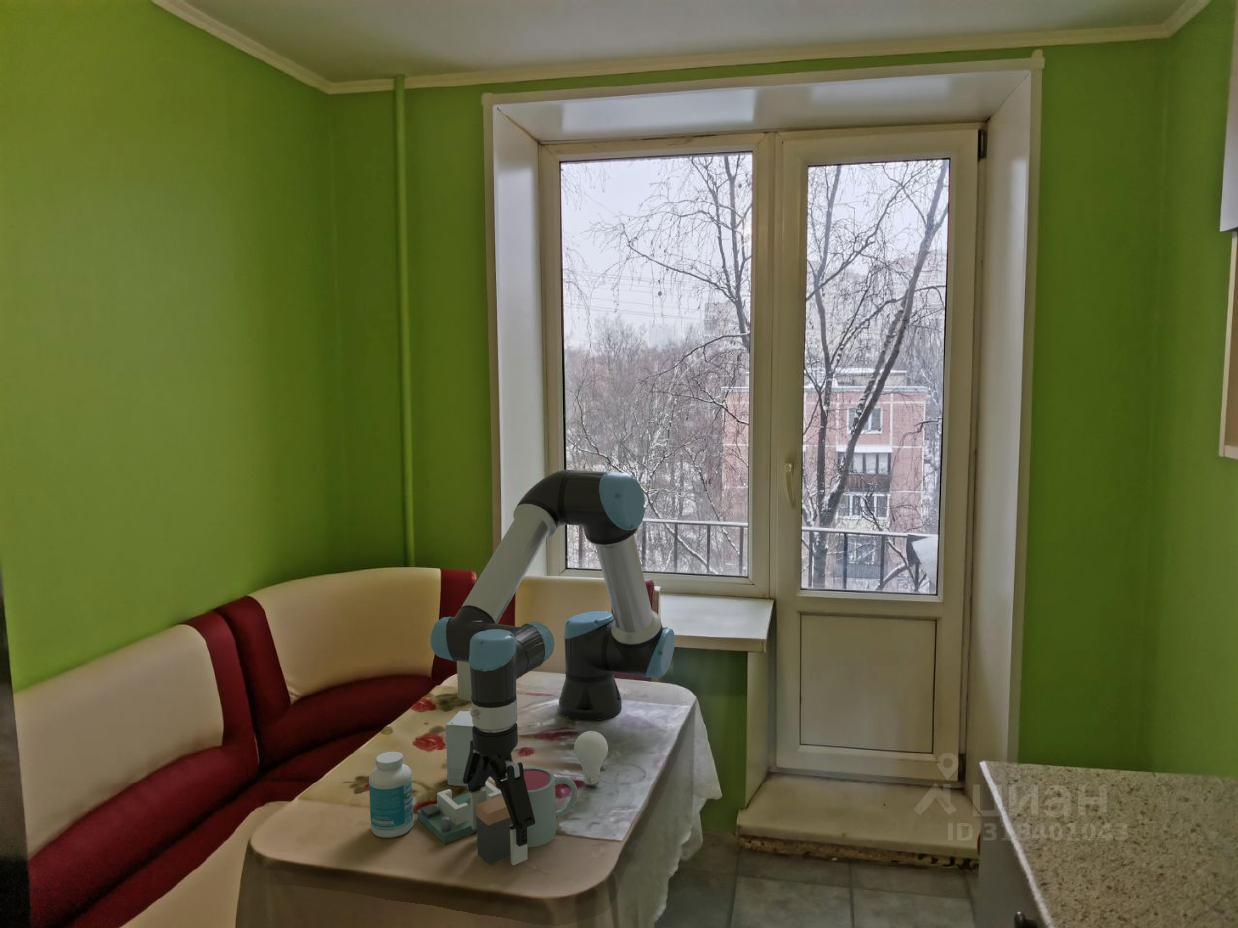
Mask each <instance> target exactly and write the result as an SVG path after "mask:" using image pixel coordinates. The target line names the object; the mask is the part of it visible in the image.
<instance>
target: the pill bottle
mask: <svg viewBox="0 0 1238 928" xmlns="http://www.w3.org/2000/svg"><path fill="white" fill-rule="evenodd" d="M375 766H376V767H375V768H374V769H372V770H371V772H370V773H369V777H368V790H369V793H368V795H369V811H370V829H371V832H372V833H373V834H374V835H375V836H376V837H379V838H384V839H386V838H387V839H390V838H392V839H393V838H397V837H400V836H403V835H405V834H407V833H408V832H409V831H410V830H412V828H413V826H414V800H413V779H412V778H413V777H412V776H413V775H412V769H411V768H410V766H408V765H407V764H405V763H404V755H403V754H402V752H399V751H386V752H383V753H380V754H378V756H377V757H376V758H375Z"/></svg>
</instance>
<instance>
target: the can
mask: <svg viewBox="0 0 1238 928" xmlns="http://www.w3.org/2000/svg"><path fill="white" fill-rule="evenodd" d="M456 674H457V675H456V676H457V693H456V695H457V698H458V699H460V700H462V701H466V702H472V701H471V695H472V693H471V676H470V664H469V663H468V662H461V661H456Z"/></svg>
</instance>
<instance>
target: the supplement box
mask: <svg viewBox="0 0 1238 928" xmlns="http://www.w3.org/2000/svg"><path fill="white" fill-rule="evenodd" d="M470 712H471V711H466V710H465V711H464V710H459V711H458V712H457V713H456V714H455V715H454V716H453V717H452V718H451V719H450V720H449V721H448V722H447V723H446V724H445V738H446V739H445V740H446V742H445V745H446V771H447V772H446V775H447V776H446V777H447V785H448V786H456V787H457V786H458V787H465V788H466V787H467V788H468V784H464V783H463V776H464V772H465V768H466V764H467V760H468V757H469V753H470V741H471V740H473V738H472V728H473V726H474V725H473V723H472V716H471V714H470Z"/></svg>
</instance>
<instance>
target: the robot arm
mask: <svg viewBox="0 0 1238 928" xmlns="http://www.w3.org/2000/svg"><path fill="white" fill-rule="evenodd" d="M645 503H646V501H645V494H644V491H643V488H642V485H641V483H640V482H639V481H638V479H637V478H636V477H635V476H634V475H632V474H630V473H626V472H621V471H616V470H609V471H598V470H597V471H596V470H595V471H593V470H575V469H562V470H559V471H555V472H553V473H551V474H548V475H547V476H546V477H544V478H542V479H541V480H540V481H538V482H536V483H535V484H534V485H533V486H532V487H531V488H530V489H529V490H527V492H526V493H525V494H524V495H523V496H522V497H521V499H519V502H518V503H517V505H516V507H515V508H514V510H513V514H512V515H513V516H512V517H513V521H512V522H511V524H510V526H509V528H508V529H507V531H506V532H505V534H504V536H503V537H502V539H501V540H500V542H499V544H498V546H497V548H496V549H495V551H494V553H493V554H492V556H491V558H490V559H489V561H488V562H487V564H486V566H485V567H484V569H483V571H482V572H481V573H480V575H479V577H478V579H477V581H476V582H475V583H474V585H473V587H472V589H471V590H470V592H469V594H468V596H467V597H466V598H465V600H464V601H463V604H462V605H461V607H460V608H459V610H457V613H456V614H455V616H447V617H446V616H443V617H441V618H440V619H438V620H437V621H436V622H435V623H434V625H433V627H432V629H431V633H430V647H431V650H432V652H433V653H434V655H435V656H437V657H439V658H442V659H445V660H449V661H453V662H456V663H457V661H461V662H468V663H469V664H470V676H471V693H472V695H471V701H470V702H471V710H470V711H469V712H470V714H471V716H472V723H473V725H474V726H473V728H472V738H473V740H471V741H470V753H469V757H468V760H467V764H466V768H465V772H464V776H463V783H464V784H468V787H467V790H468V792H470V801H471V828H472V829H473V830H475V829H477V822H476V804H479V803H482V802H484V801H486V790H485V789H481V788H482V787H485V786H487V785H486V781H488V779H489V778H491V779H492V780H493V781H494V783H495V787H496V788H497V789H499V790H500V791H501V793H502V795H503V798H504V801H505V804H506V807H507V809H508V812H509V815H510V818H511V821H512V823H513V825H510V827H509V828H510V845H511V856H510V863H511V865H512V866H515V865H517V864H520V863H522V862H525V861H527V860H529V858H528V847H527V827H529V826H531V825H534V824H535V818H534V814H533V810H532V806H531V802H530V798H529V794H528V790H527V787H526V783H525V779H524V770H523V768H524V766H523V763H522V762H519V761H518V762H517V763H515V762H514V761H513V756H512V752H513V751H514V750H515V748H516V747H518V746H517V745H518V742H519V739H518V738H519V737H518V736H519V733H518V730H519V729H518V724H517V722H518V703H517V702H518V701H517V700H518V699H517V698H518V697H517V680H518V679H520V678H522V677H523V676H524V675H526V674H527V673H529V672H531V671H533V670H534V669H536V668H538V667H540V666H542V665H543V664H544V662H545V661H547V660H548V659H549V658H550V657H551V656H552V654H553V652H554V650H555V638H554V636H553V635H554V634H553V633H552V631H551V630H550V628H549V627H548V626H547V625H545V624H544V623H542V622H540V621H539V622H538V621H531V622H528V623H527V622H526V623H523V624H522V625H521V626H516V625H515V626H514V625H508V624H500V623H499V622H500V620H501V618H502V616H503V615H504V612H505V611H506V610H507V608H508V606H509V604H510V602H511V601H512V599H513V597H514V595H515V593H516V591H517V590H518V588H519V586H520V584H521V582H522V581H523V579H524V578H525V576H526V574H527V573H528V571H529V568H530V567H531V566H532V564H533V561H534V560H535V558H536V557H537V555H538V553H539V551H540V549H541V548H542V546H543V544H544V542H545V540H546V539H548V538H550V537H552V536H553V535H554V534H555V532H556V531H557V529H558V528H559V527H561V526H564V525H569V526H578V527H579V526H581V527H582V528H583V532H584V535H585V538H586V540H587V541H588V542H589V543H591V544H592V545H595V548H596V552H597V556H598V557H597V558H598V561H599V564H600V568H601V572H602V575H603V580H604V582H605V583H604V584H605V588H606V590H607V595H608V599H609V602H610V607H611V609H612V610H611V611H612V612H609V611H605V610H596V611H588V612H583V613H579V614H576V615H573V616H571V617H569V619H567V620H566V621H565V624H564V635H563V639H564V659H565V660H564V664H565V665H564V666H565V667H564V669H565V672H564V673H565V678H564V679H565V680H564V682H563V686H562V690H561V692H560V697H559V699H558V711H559V713H560V714H561V715H562V716H563V717H566V718H568V719H571V720H575V721H581V722H583V721H584V722H592V721H601V720H606V719H610V718H612V717H613V718H614V716H617V715H618V714H619V713H620V712H621V710H622V704H623V703H622V696H621V693H620V691H619V687H618V685H617V681H616V679H615V673H618V674H623V675H625V674H626V675H631V676H637V677H643V678H655V679H659V678H662V677H663V676H665V674H666V673H667V671H668V669H670V665H671V662H672V659H673V655H674V651H675V638H676V636H675V631H674V629H672V628H670V627H668V626H665V627H664V626H663V623H662V620H661V617H660V615H659V614H658V613H657V612H656V611H654V610H653V609H652V606H651V602H650V597H649V593H648V588H647V584H646V580H645V576H644V572H643V567H642V563H641V560H640V559H641V558H640V556H639V555H640V554H639V550H638V546H637V540H636V538H635V534H636V533H637V532H638V530H639V527H640V525H641V524H642V522H643V520H644V517H645V513H646V510H645V509H646V508H645ZM506 778H507V780H504V781H503V779H506Z"/></svg>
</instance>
